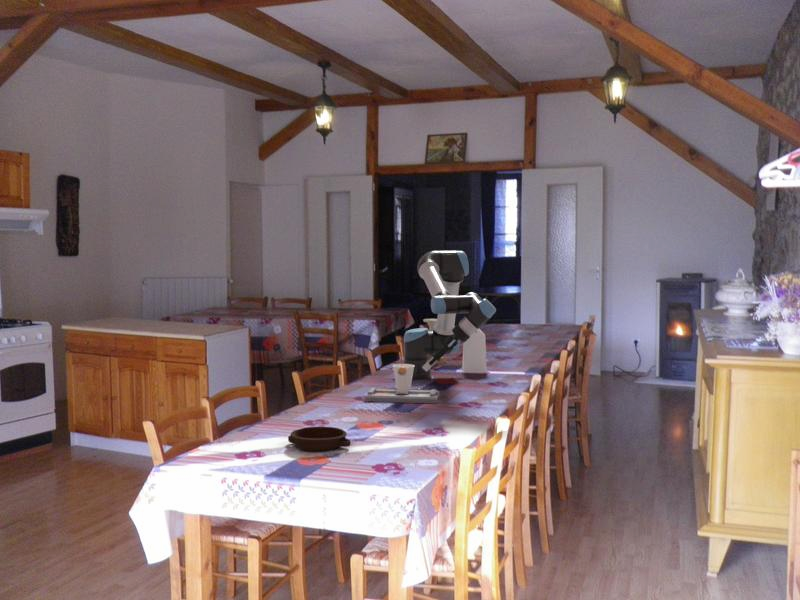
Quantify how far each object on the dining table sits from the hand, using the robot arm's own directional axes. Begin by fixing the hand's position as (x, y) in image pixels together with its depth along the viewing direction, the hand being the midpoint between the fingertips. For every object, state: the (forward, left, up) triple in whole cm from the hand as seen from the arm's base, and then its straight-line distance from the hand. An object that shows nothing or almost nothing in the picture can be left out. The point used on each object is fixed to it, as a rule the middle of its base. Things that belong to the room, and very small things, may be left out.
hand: (424, 369), depth 329 cm
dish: (+82, +4, -13) cm, 83 cm away
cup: (-14, -18, -13) cm, 26 cm away
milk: (-75, -11, -13) cm, 77 cm away
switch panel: (+3, -9, -13) cm, 16 cm away
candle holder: (-85, -40, -13) cm, 95 cm away
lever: (+3, -9, -11) cm, 15 cm away
